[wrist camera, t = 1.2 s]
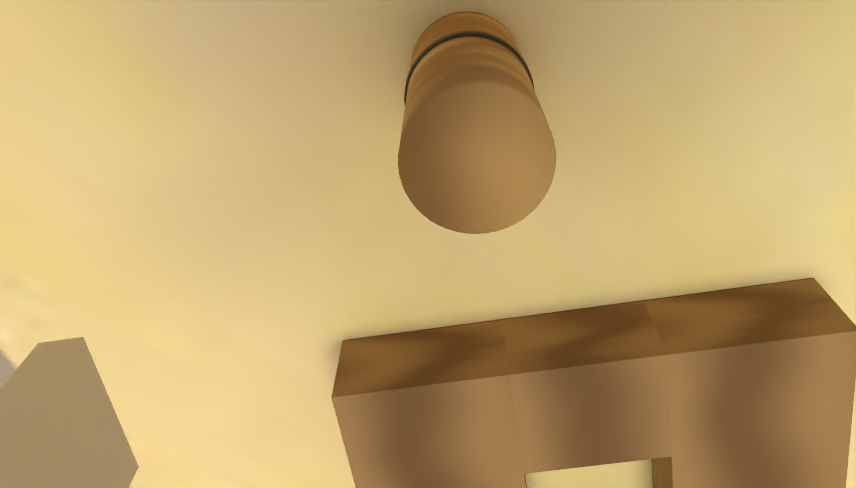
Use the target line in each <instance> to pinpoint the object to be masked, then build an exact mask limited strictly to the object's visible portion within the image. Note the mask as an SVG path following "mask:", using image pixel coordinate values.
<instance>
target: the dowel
mask: <svg viewBox="0 0 856 488" xmlns="http://www.w3.org/2000/svg"><path fill="white" fill-rule="evenodd" d="M404 102H405V112H404V119H403V126H402V133H401V140H400V147H399V154H398V167H399V175H400V179H401V182H402V185H403V188H404V190H405V192H406V194H407V196H408V197H409V199H410V201H411V202H412V203H413V205H414V206H415V207H416V208H417V209H418V210H419V211H420V212H421V213H422V214H423V215H424V216H425V217H427V218H428V219H429V220H431V221H432V222H434V223H436V224H438V225H439V226H442V227H444V228H446V229H449V230H453V231H456V232H462V233H470V234H480V233H489V232H494V231H498V230H501V229H504V228H507V227H509V226H511V225H513V224H515V223H517V222H519V221H520V220H522V219H523V218H525V217H526V216H527V215H528V214H530V213H531V212H532V211H533V210H534V209H535V208H536V207H537V206H538V205H539V203H540V202H541V201H542V199H543V198H544V196H545V195H546V193H547V191H548V189H549V187H550V185H551V182H552V179H553V175H554V171H555V164H556V150H555V145H554V140H553V137H552V134H551V131H550V128H549V126H548V123H547V121H546V118H545V116H544V113H543V111H542V108H541V106H540V103H539V101H538V98H537V96H536V93H535V91H534V85H533V80H532V77H531V74H530V71H529V69H528V67H527V65H526V63H525V61H524V60H523V58H522V57H521V55H520V53H519V51H518V48H517V46H516V44H515V42H514V40H513V38H512V36H511V35H510V33H509V32H508V31H507V30H506V29H505V27H503V26H502V25H501V24H500V23H499V22H497V21H496V20H494V19H493V18H491V17H488V16H486V15H483V14H480V13H475V12H458V13H453V14H450V15H447V16H444V17H442V18H440V19H439V20H437V21H436V22H434V23H433V24H431V25H430V26H429V27H428V28H427V29H426V30H425V31H424V33H423V34H422V35H421V37H420V38H419V40H418V42H417V44H416V46H415V48H414V52H413V56H412V62H411V69H410V71H409V74H408V77H407V81H406V87H405V96H404Z"/></svg>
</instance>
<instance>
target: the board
mask: <svg viewBox="0 0 856 488" xmlns="http://www.w3.org/2000/svg"><path fill="white" fill-rule="evenodd" d="M855 379H856V325H855V324H854V323H853V322H852V321H851V320H850V319H849V318H848V316H847V315H846V314H845V313H844V312H843V311H842V310H841V308H840V307H839V306H838V305H837V304H836V303H835V302H834V301H833V299H832V298H831V297H830V296H829V295H828V294H827V293H826V291H825V290H824V289H823V288H822V287H821V286H820V285H819V284H818V282H817V281H816V280H815V279H814V278H811V279H803V280H796V281H788V282H781V283H773V284H766V285H758V286H751V287H743V288H736V289H728V290H721V291H713V292H706V293H698V294H691V295H683V296H676V297H668V298H661V299H653V300H646V301H638V302H631V303H623V304H616V305H608V306H601V307H593V308H586V309H578V310H571V311H563V312H555V313H548V314H540V315H533V316H525V317H518V318H510V319H503V320H495V321H488V322H480V323H473V324H465V325H458V326H450V327H443V328H435V329H428V330H420V331H413V332H405V333H398V334H390V335H383V336H375V337H368V338H360V339H353V340H345V341H343V343H342V348H341V353H340V358H339V363H338V368H337V373H336V378H335V383H334V388H333V393H332V401H333V405H334V408H335V412H336V416H337V419H338V423H339V427H340V430H341V434H342V438H343V442H344V445H345V449H346V453H347V456H348V460H349V464H350V467H351V471H352V475H353V478H354V482H355V486H356V488H527V486H526V479H525V473H534V472H542V471H551V470H559V469H568V468H577V467H585V466H594V465H603V464H611V463H620V462H628V461H637V460H646V459H652V476H653V488H846V478H847V467H848V456H849V445H850V434H851V423H852V412H853V401H854V390H855Z"/></svg>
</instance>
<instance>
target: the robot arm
mask: <svg viewBox="0 0 856 488" xmlns="http://www.w3.org/2000/svg"><path fill="white" fill-rule="evenodd" d="M137 469H138V464H137V462H136V460H135V457H134V455H133V453H132V450H131V448H130V445H129V443H128V441H127V438H126V436H125V434H124V431H123V429H122V427H121V424H120V422H119V420H118V417H117V415H116V413H115V410H114V408H113V406H112V403H111V401H110V399H109V396H108V394H107V392H106V389H105V387H104V385H103V382H102V380H101V378H100V375H99V373H98V371H97V368H96V366H95V364H94V361H93V359H92V357H91V354H90V352H89V350H88V347H87V345H86V343H85V340H84V338H83V337H79V338H72V339H65V340H57V341H50V342H43V343H38V344H37V345H36V347H35V348H34V349H33V350H32V351H31V353H30V354H29V355H28V356H27V357H26V359H25V360H24V361H23V362H22V364H21V365H20V366H19V367H18V368H17V370H16V371H15V372H14V373H13V374H12V376H11V377H10V378H9V379H8V381H7V382H6V383H5V384H4V386H3V387H2V388H1V389H0V488H129V486H130V483H131V481H132V479H133V477H134V475H135V473H136V471H137Z"/></svg>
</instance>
